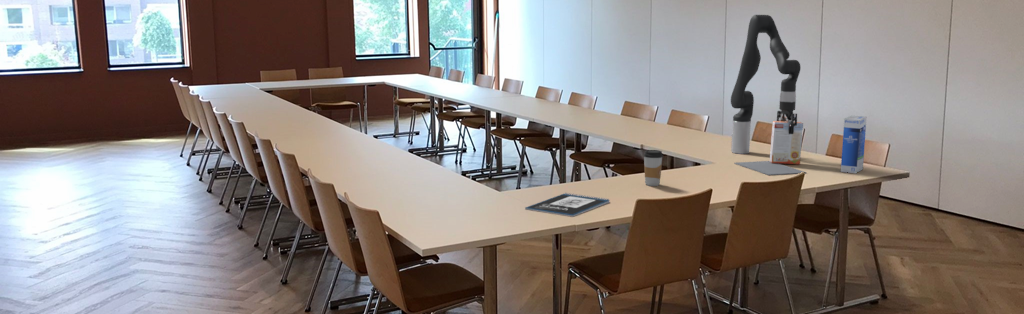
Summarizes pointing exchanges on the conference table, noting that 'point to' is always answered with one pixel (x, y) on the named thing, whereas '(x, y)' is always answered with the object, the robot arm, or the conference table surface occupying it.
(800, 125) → the cracker box
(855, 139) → the blue cardboard box
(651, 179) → the coffee cup
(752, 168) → the mat
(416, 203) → the conference table surface
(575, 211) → the sketchbook
